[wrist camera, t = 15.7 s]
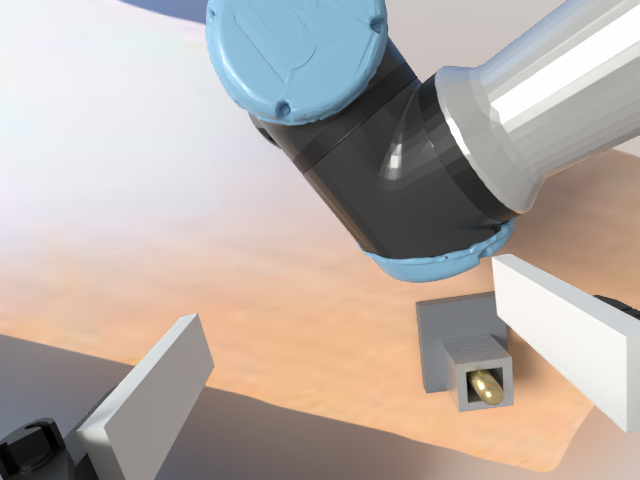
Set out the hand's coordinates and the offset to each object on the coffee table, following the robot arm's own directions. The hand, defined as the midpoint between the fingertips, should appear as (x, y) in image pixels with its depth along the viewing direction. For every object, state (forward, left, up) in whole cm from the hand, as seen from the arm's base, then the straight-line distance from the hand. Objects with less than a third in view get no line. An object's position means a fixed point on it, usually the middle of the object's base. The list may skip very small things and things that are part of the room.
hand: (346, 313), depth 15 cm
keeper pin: (+24, +16, -30) cm, 42 cm away
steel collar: (+24, +16, -30) cm, 42 cm away
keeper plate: (+22, +16, -32) cm, 42 cm away
